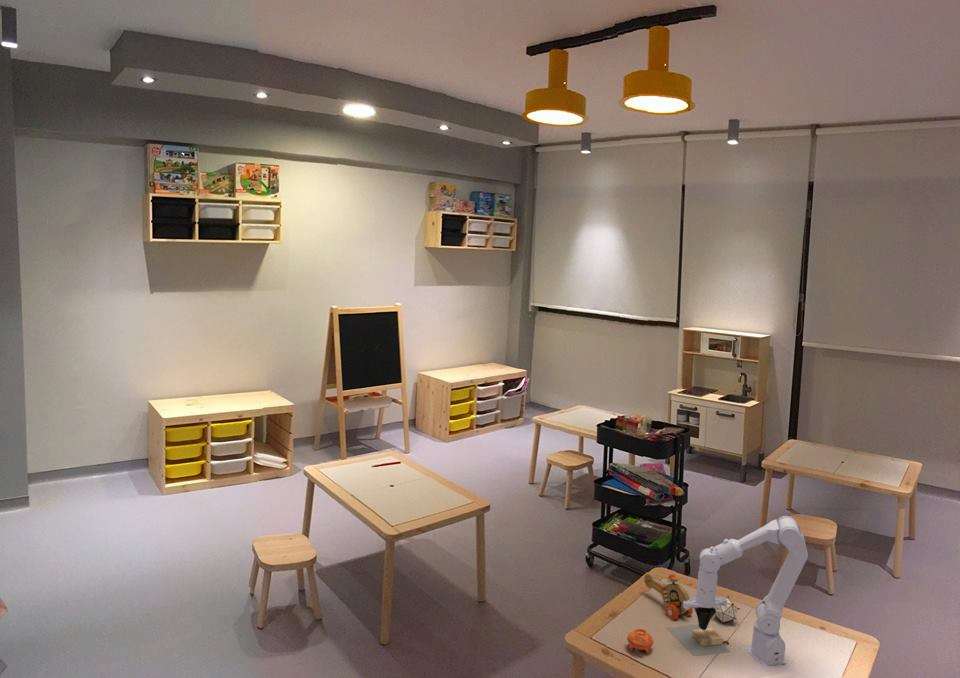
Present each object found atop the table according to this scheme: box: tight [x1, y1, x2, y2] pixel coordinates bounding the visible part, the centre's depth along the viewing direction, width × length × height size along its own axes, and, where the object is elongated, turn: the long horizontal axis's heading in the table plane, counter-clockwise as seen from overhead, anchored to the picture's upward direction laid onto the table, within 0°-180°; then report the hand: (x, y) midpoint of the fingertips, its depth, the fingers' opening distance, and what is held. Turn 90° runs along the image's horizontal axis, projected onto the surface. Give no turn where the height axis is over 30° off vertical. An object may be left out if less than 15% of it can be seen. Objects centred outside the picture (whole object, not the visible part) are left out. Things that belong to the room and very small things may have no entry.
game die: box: [714, 595, 741, 625], centre depth 234 cm, size 9×8×10 cm
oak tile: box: [692, 627, 723, 646], centre depth 221 cm, size 6×2×7 cm
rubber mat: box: [666, 623, 731, 657], centre depth 221 cm, size 16×13×1 cm
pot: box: [626, 628, 655, 654], centre depth 214 cm, size 8×8×7 cm
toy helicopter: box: [643, 573, 694, 621], centre depth 240 cm, size 8×21×14 cm, turn 27°
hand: (702, 628), depth 220 cm, fingers closed
